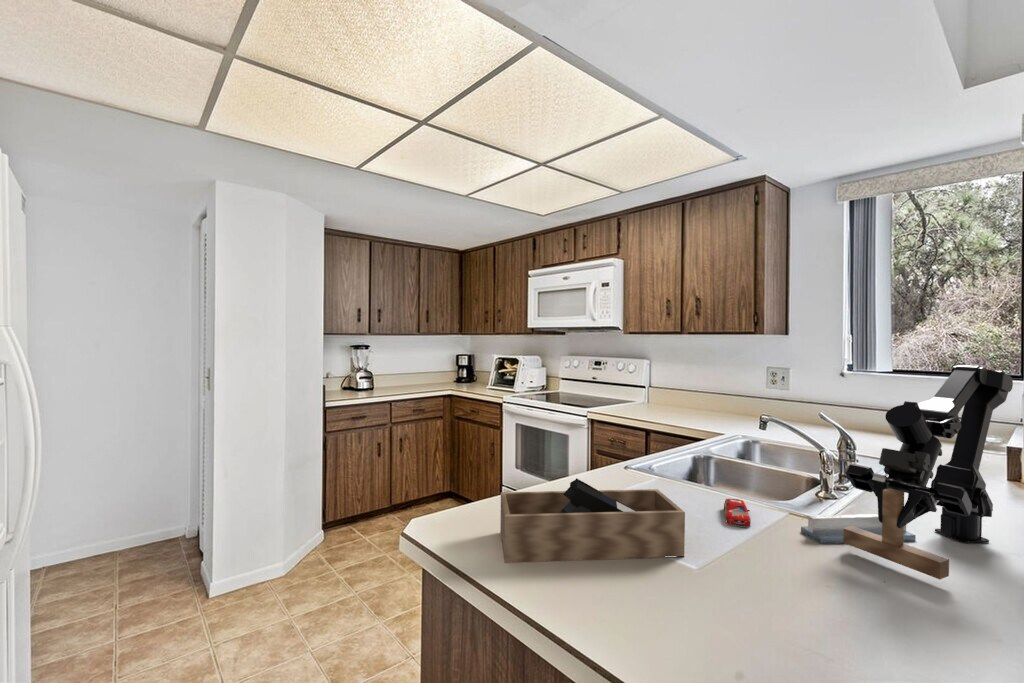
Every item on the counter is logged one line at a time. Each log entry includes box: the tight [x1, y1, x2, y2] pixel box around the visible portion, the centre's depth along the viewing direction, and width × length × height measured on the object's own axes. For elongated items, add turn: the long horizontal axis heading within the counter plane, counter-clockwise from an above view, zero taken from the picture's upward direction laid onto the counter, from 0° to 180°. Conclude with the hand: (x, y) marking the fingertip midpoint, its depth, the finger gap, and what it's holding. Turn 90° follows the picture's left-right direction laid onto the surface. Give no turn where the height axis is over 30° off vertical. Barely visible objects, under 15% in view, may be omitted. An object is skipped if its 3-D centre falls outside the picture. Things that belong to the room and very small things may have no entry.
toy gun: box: [559, 477, 636, 513], centre depth 101 cm, size 3×24×15 cm, turn 108°
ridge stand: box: [800, 513, 916, 544], centre depth 105 cm, size 22×6×4 cm, turn 95°
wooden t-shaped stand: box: [842, 488, 950, 580], centre depth 91 cm, size 16×3×13 cm, turn 25°
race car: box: [723, 497, 751, 528], centre depth 115 cm, size 13×5×4 cm, turn 158°
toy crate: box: [499, 488, 686, 564], centre depth 100 cm, size 36×14×9 cm, turn 95°
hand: (889, 524), depth 90 cm, fingers closed on wooden t-shaped stand, 2 cm apart
